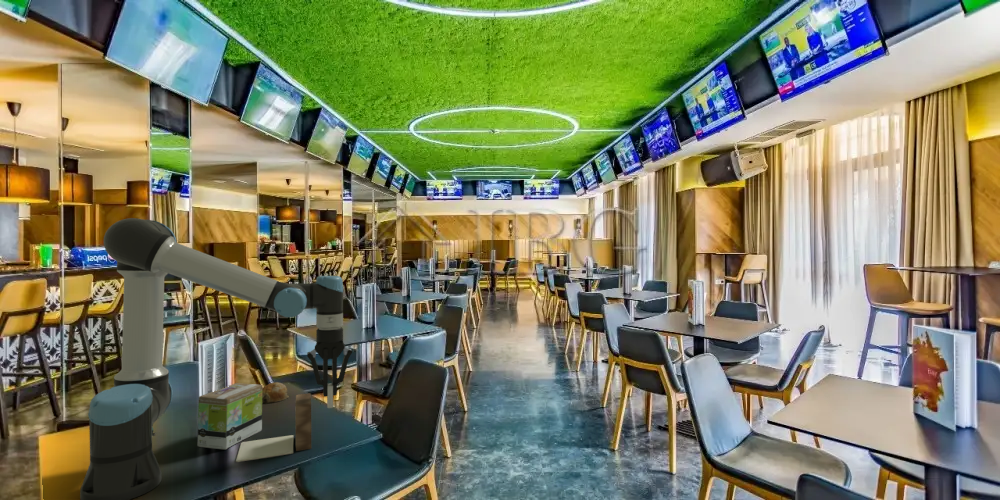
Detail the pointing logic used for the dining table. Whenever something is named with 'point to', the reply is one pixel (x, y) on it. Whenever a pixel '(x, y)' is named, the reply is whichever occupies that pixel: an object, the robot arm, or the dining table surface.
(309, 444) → the slab
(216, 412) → the tea box
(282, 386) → the bread roll
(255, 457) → the mat
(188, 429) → the dining table surface
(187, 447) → the dining table surface
